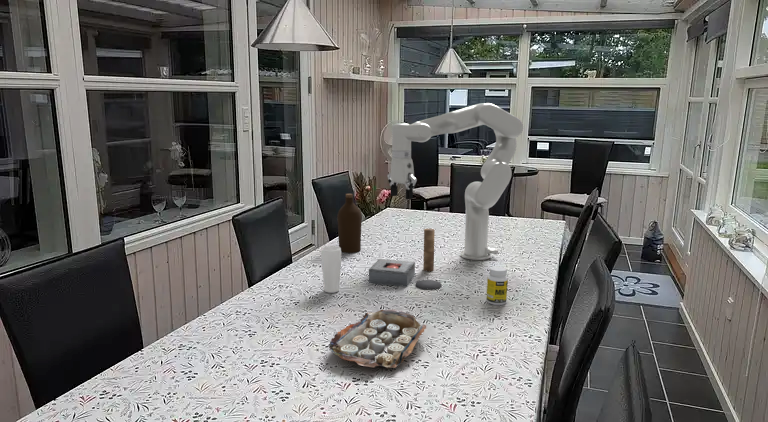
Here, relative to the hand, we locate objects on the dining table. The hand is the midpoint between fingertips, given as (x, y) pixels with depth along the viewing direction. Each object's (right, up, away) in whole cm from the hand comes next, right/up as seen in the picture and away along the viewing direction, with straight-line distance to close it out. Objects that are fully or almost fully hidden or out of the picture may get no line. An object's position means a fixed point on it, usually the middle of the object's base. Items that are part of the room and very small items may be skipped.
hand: (401, 197), depth 213 cm
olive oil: (-22, -23, +19) cm, 37 cm away
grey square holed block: (-4, -30, -19) cm, 36 cm away
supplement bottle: (+29, -35, -42) cm, 62 cm away
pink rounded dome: (-4, -28, -20) cm, 35 cm away
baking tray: (-8, -42, -75) cm, 86 cm away
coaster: (+9, -32, -27) cm, 42 cm away
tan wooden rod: (+10, -28, -9) cm, 31 cm away
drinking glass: (-25, -33, -32) cm, 53 cm away
